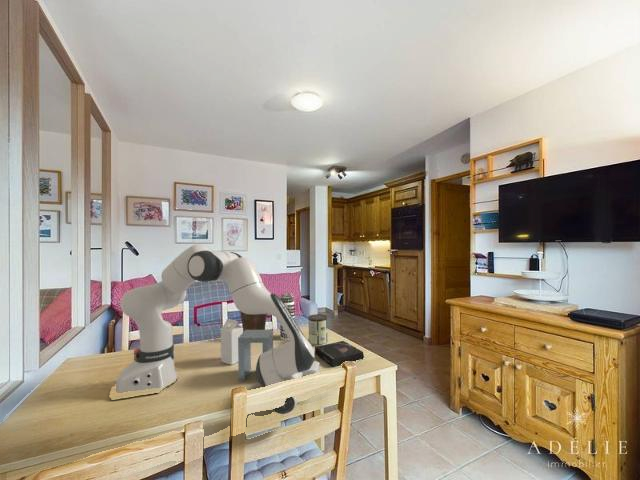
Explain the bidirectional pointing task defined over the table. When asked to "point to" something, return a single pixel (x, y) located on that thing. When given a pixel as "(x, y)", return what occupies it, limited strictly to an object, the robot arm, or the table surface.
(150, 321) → the robot arm
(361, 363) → the table surface
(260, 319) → the plant pot
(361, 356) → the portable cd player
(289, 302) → the white and brown cylinder
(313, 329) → the coffee can
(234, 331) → the milk carton
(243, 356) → the frame
